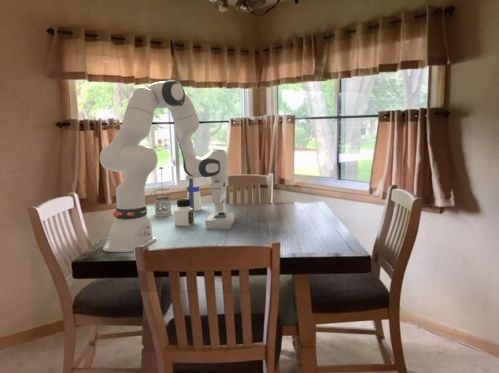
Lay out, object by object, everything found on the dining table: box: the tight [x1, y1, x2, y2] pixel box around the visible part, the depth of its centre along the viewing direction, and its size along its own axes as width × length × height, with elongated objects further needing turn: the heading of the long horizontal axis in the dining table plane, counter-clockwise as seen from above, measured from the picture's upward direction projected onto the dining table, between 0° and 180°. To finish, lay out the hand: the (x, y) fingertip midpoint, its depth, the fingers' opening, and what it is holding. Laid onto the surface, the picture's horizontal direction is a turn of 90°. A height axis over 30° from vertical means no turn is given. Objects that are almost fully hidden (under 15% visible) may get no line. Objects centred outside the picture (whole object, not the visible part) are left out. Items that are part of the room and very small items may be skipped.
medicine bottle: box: [173, 197, 195, 227], centre depth 194 cm, size 7×7×12 cm
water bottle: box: [185, 174, 202, 212], centre depth 224 cm, size 8×9×25 cm
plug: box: [214, 198, 226, 213], centre depth 205 cm, size 4×4×9 cm
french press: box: [148, 166, 174, 218], centre depth 213 cm, size 10×12×25 cm
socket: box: [204, 211, 235, 230], centre depth 191 cm, size 14×11×5 cm
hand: (220, 209), depth 205 cm, fingers open, 5 cm apart
